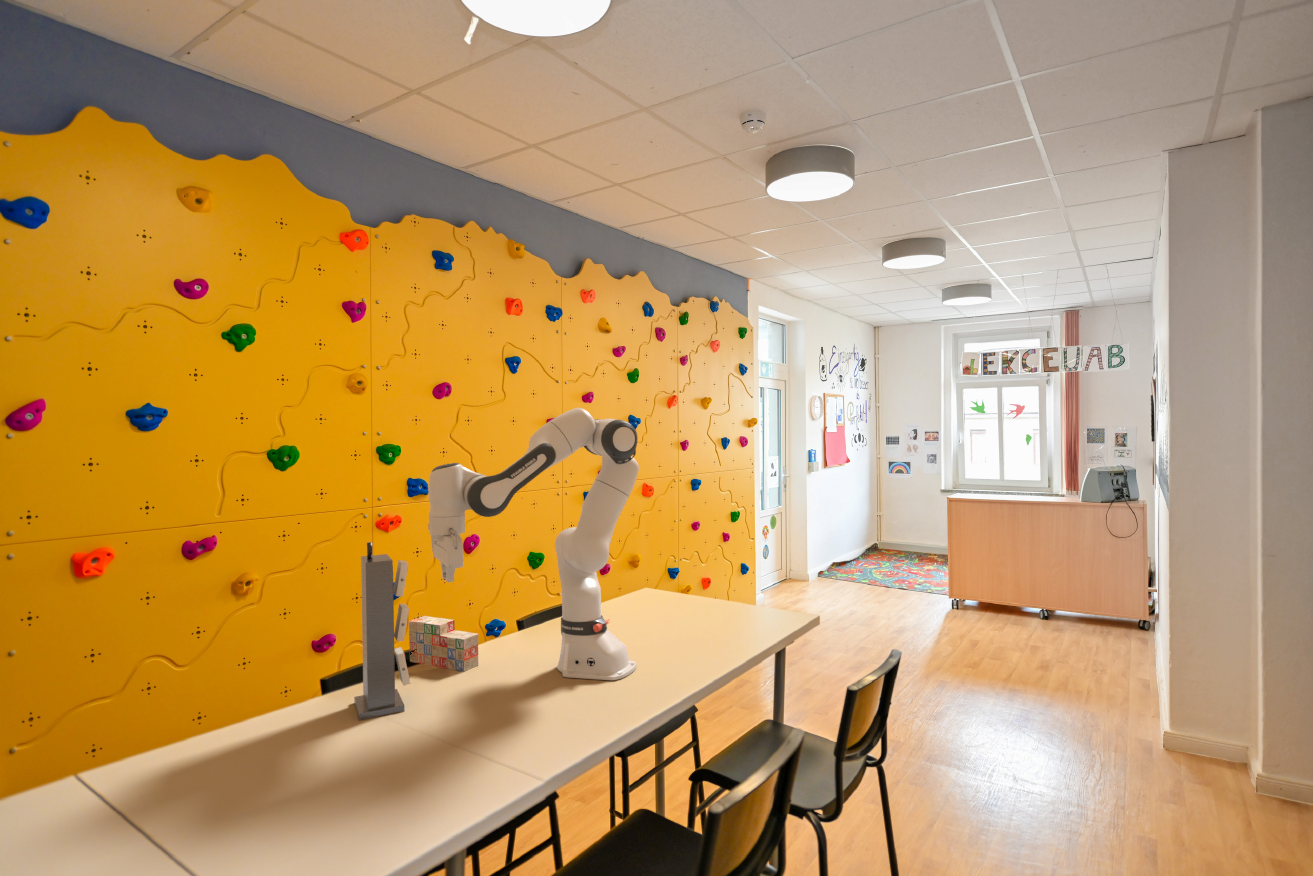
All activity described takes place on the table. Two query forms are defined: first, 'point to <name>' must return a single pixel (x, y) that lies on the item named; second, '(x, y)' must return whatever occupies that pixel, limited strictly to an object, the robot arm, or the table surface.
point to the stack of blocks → (442, 644)
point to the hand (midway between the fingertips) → (448, 580)
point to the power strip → (377, 639)
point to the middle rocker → (401, 622)
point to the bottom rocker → (402, 666)
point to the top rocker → (400, 578)
